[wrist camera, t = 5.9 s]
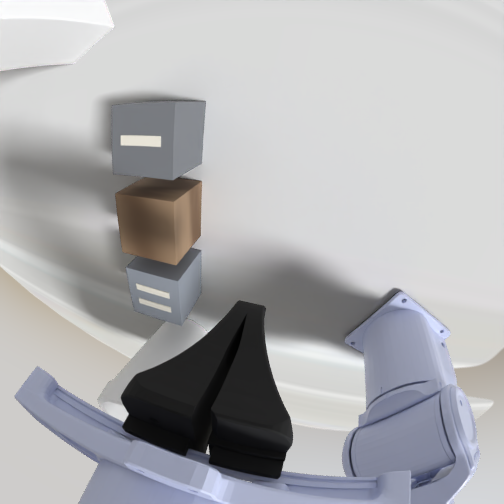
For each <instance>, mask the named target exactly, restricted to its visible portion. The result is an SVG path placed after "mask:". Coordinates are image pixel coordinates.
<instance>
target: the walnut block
mask: <svg viewBox="0 0 504 504" xmlns="http://www.w3.org/2000/svg"><path fill="white" fill-rule="evenodd" d="M201 193H202V181H197V180H189V179H181V178H176V179H174V180H166V179H157V178H148V177H145V178H143V179H141V180H139V181H137V182H135V183H133V184H132V185H130V186H128V187H126V188H124V189H123V190H121V191H119V192H117V193H116V194H115V197H116V207H117V216H118V224H119V232H120V239H121V246H122V252H124V253H128V254H132V255H136V256H140V257H144V258H148V259H152V260H156V261H160V262H164V263H168V264H173V265H177V264H178V263H179V261H180V260H181V259H182V258H183V256H184V255H185V254H186V253H187V252H188V250H189V249H190V248H191V247H192V245H193V244H194V243H195V242H196V241H197V239H198V238H199V237H200V236H201Z"/></svg>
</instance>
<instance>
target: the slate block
mask: <svg viewBox="0 0 504 504" xmlns="http://www.w3.org/2000/svg"><path fill="white" fill-rule="evenodd" d="M126 272H127V277H128V283H129V288H130V293H131V297H132V302H133V307H134V311H136V312H139V313H142V314H145V315H148V316H151V317H154V318H157V319H160V320H164V321H167V322H170V323H173V324H176V325H180V326H182V325H183V323H184V322H185V320H186V318H187V316H188V315H189V313H190V311H191V310H192V308H193V306H194V304H195V303H196V301H197V299H198V298H199V296H200V294H201V250H197V249H192V248H190V249H189V250H188V252H187V253H186V254H185V255H184V256H183V258H182V259H181V260H180V261H179V263H178V264H177V265H173V264H168V263H164V262H160V261H156V260H152V259H148V258H144V257H140V256H137V257H136V258H135V259H134V260H133V261H132V262H131V263H130V264H129V265H128V266H126Z"/></svg>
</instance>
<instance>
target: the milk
mask: <svg viewBox="0 0 504 504" xmlns="http://www.w3.org/2000/svg"><path fill="white" fill-rule="evenodd" d="M114 28H115V26H114V23H113V20H112V18H111V15H110V13H109V10H108V7H107V5H106V2H105V0H0V71H5V70H11V69H18V68H26V67H35V66H47V65H64V64H75V63H76V62H77V61H78V60H79V59H80V58H81V57H82V56H83V55H84V54H85V53H86V52H87V51H88V50H89V49H90V48H92V47H93V46H94V45H95V44H96V43H97V42H98V41H99V40H101V39H102V38H103V37H104V36H105V35H106V34H108V33H109V32H110V31H111V30H112V29H114Z"/></svg>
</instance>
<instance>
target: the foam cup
mask: <svg viewBox="0 0 504 504" xmlns="http://www.w3.org/2000/svg"><path fill="white" fill-rule="evenodd" d="M207 333H208V332H207V331H206V330H205V329H204V328H203V327H202V326H200V325H199V324H197V323H196V322H194V321H193V320H190V319H186V320H185V322H184V323H183V325H182V326H180V325H176V324H173V323H170V322H167V321H166V322H165V323H164V324H163V325H162V326H161V327H160V328H159V329H158V330H157V331H156V332H155V333H154V334H153V336H152V337H151V338H150V339H149V340H148V341H147V342H146V343H145V344H144V346H143V347H142V348H141V349H140V350H139V351H138V352H137V353H136V355H135V356H134V357H133V358H132V359H131V360H130V361H129V363H128V364H127V365H126V366H125V367H124V368H123V369H122V370H121V371H120V373H119V374H118V375H117V376H116V377H115V378H114V379H113V380H112V381H109V382H108V384H107V385H106V387H105V388H104V390H103V391H102V393H101V394H100V396H99V398H98V403H99V406H100V407H101V409H102V410H103V411H104V412H105V413H107V414H109V415H111V416H112V417H114V418H116V419H119V420H121V421H123V422H125V420H126V418H127V416H128V415H129V414H128V412H127V410H126V408H125V407H124V405H123V403H122V401H121V395H122V393H123V391H124V390H125V388H126V387H127V385H128V383H129V382H130V381H131V380H132V378H133V377H134V376H135V375H136V374H137V373H140V372H143V371H145V370H148V369H150V368H153V367H155V366H157V365H160V364H162V363H164V362H166V361H168V360H170V359H171V358H173V357H175V356H177V355H178V354H180V353H182V352H183V351H185V350H186V349H188V348H189V347H191V346H192V345H194V344H195V343H196V342H198V341H199V340H200V339H201V338H203V337H204V336H205V335H206V334H207Z"/></svg>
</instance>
